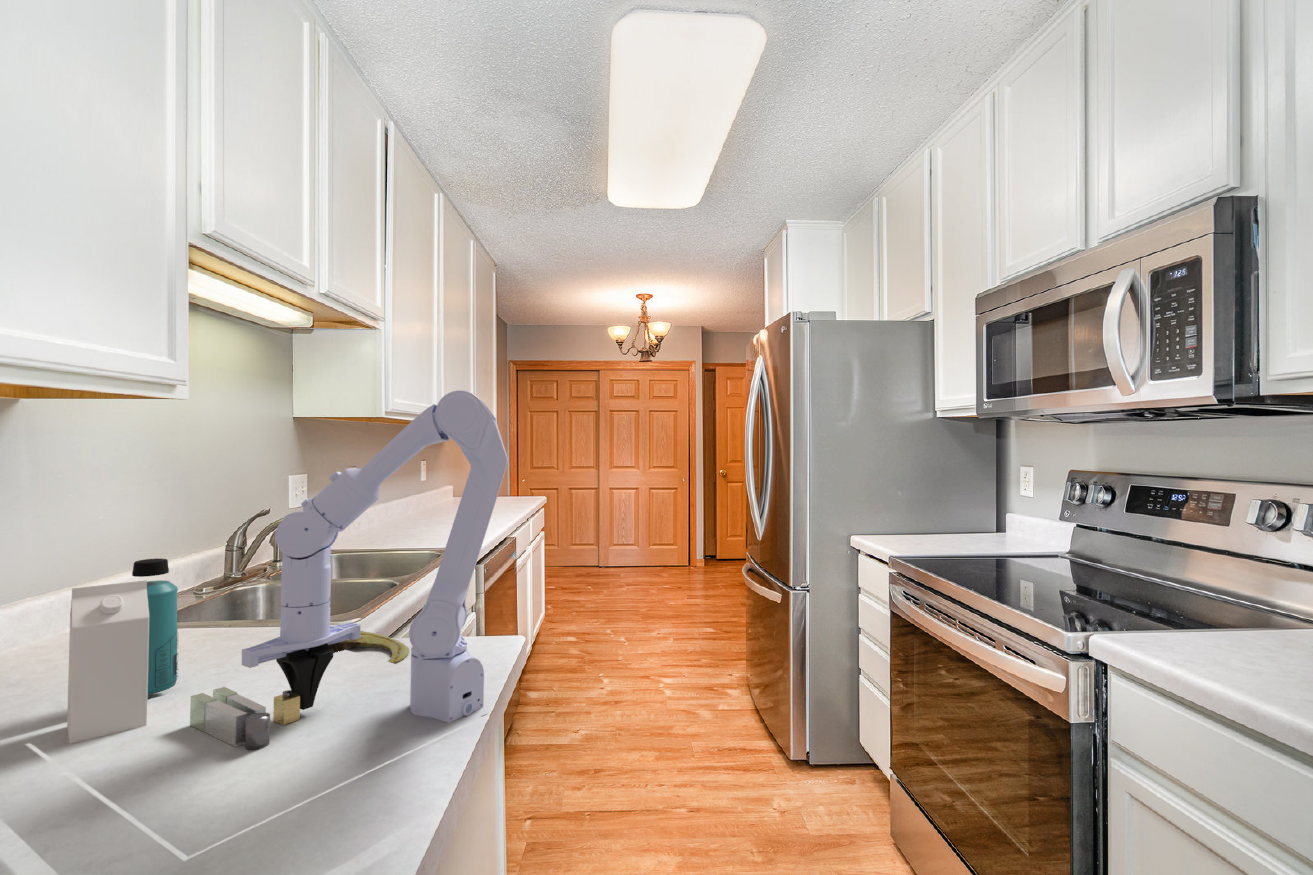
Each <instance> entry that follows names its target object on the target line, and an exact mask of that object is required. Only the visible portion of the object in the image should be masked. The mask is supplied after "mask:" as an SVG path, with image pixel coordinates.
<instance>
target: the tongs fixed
mask: <svg viewBox="0 0 1313 875" xmlns="http://www.w3.org/2000/svg"><path fill="white" fill-rule="evenodd" d="M189 705H190V710H189V711H190V712H189V725H190V727H193V728H194V729H196V730H199V731H201V732H203V733H206V734H208V735H210V736H211V737H214V738H216V739H217V740H220V741H221V742H224V743H226V744H228V745H230V746H232V747H234V748H237V747H240V746H243V745H244V749H245V750H246V751H258V750H261V749H265V748H266V747H267V746H269V745H270V735H271V734H270V729H271V728H270V727H271V726H270V725H271V724H270V723H271V720H270V719H271V714H270V713H269V712H262V713H256V714H252V715H250V716H248V717H247V713H246V712H243V711H241V710H239V709H236V708H234V707H232V706H229V705H227V704H225V703H222V702H220V701H218V700H217V699H216V698H213V696H211V695H208V694H206V693H205V692H201V693H198V694H195V695H191V696H190V704H189Z"/></svg>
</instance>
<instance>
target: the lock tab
mask: <svg viewBox="0 0 1313 875" xmlns="http://www.w3.org/2000/svg"><path fill="white" fill-rule="evenodd" d="M272 713H273V719H272V721H273V722H275V723H278V724H279V725H283V726H285V725H288V724H291V723H293V722H297V721H299V720H301V719H300V716H301V715H300V714H301V709H300V696H299V695H296V694H294V693H292V691H291V689H289V690H288V689H287V690H284V691H282V694H280V695H276V696H274V697H273V712H272Z"/></svg>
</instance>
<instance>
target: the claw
mask: <svg viewBox="0 0 1313 875" xmlns="http://www.w3.org/2000/svg"><path fill="white" fill-rule="evenodd" d="M361 647H362V648H367V647H368V648H369V647H371V648H372V647H373V648H374V647H375V648H382V649H385V650H387V651H390V652H391V657H390V658H388V661H387V662H388V663H390V664H397V663H400V662H401V660H402V661H403V660H405V659H406V658H407V657H408V655H409V653H410V648H409V647H408V646H407V645H406V644H405V643H403V642H401V641H399V640H397V639H396V638H395V639H394V638H392V637H388V636H386V635H384V634H383V635H382V634H379V633H374V632H370V631H369V632H368V631H364V630H363V631H362V630H360V638H358V639H354V640H352V639H349V640H345V641H341V642H338V643H334V644H330V645H328V648H330V649H333V654H336V653H339V652H343V651H349V650H351V649H354V648H361ZM338 651H339V652H338ZM335 652H336V653H335ZM406 656H407V657H406ZM404 658H405V659H404ZM399 661H400V662H399Z"/></svg>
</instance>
